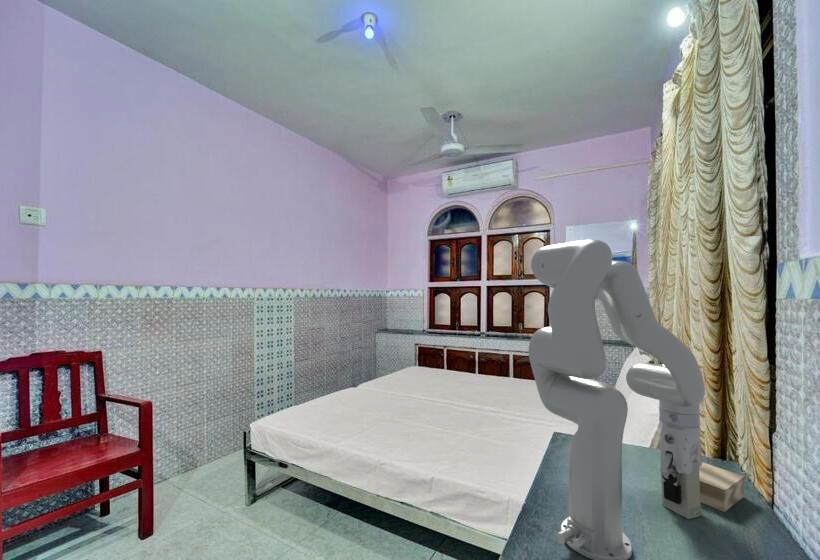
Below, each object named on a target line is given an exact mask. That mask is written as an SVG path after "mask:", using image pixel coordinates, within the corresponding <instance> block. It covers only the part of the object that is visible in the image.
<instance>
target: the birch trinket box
mask: <svg viewBox="0 0 820 560" xmlns="http://www.w3.org/2000/svg"><path fill="white" fill-rule="evenodd" d="M699 479H700V499H701V504H705V505H707V506H709V507H712V508H714V509H716V510H719V511H721V512H724V513H725V512H727V511H728V510H730V508H731V507H733V506H734V505H736V503H738V502H739V501H741V500H742V499H743V498H745V496H744V495H745V493H744V492H745V491H744V490H745V489H744V481H745V480H746V477H745V475H741V474H740V473H739V474H738V473H736V472H733V471H730V470H727V469H725V468H721V467H719V466H714V465H711V464H709V463H706V462H703V461H702V466H701V467H700V468H699Z"/></svg>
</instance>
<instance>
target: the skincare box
mask: <svg viewBox="0 0 820 560" xmlns="http://www.w3.org/2000/svg"><path fill="white" fill-rule="evenodd" d="M660 464H661V462H660ZM671 468H672V469H674V470H676V467H673V466H671ZM670 474H672V475H673V477H674V478H675V474H676V473H674V472H671V471H670ZM660 481H661V482H660V483H661V485H660V486H661V505H662V506H663V507H666V508H667V509H668V510H670V511H673V512H674V513H676V514H678V515H680V516H681V517H683V518H685V519H687V520H690V519H694V518H698V517H701V516H702V505H701V504H702V503H701V499H700V479H699V461H698V460H696V461H695V462H693V468H692V472H691V473H689V474H687V475H682V474H681V476H680V481H679V485H680V486H681V504H676V503H674V502H672V501H669V500H667V499H665V498H664V481H663V477H662V473H661V472H660Z"/></svg>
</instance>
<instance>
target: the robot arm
mask: <svg viewBox="0 0 820 560" xmlns="http://www.w3.org/2000/svg"><path fill="white" fill-rule="evenodd" d="M530 268H531V272H532V274H533V275H534V277H535V278H536V280H538V281H539V282H540V283H541V284H543V285H545V286H547V287H550V288H552V289H553V291H552V293H551V295H550V297H549V301H548V304H547V314H548V319H549V323H550V326H545V327H541V328H539V329H537V330H536V331H535V332H534V333H533V334H532V336H531V338H530V340H529V343H528V358H529V363H530V367H531V370H532V371H531V372H532V375H533V377H534V381H535V385H536V388H537V392H538V395H539V399H540V401H541V402H542V404H543V406H544V407H545V409H546V410H548V412H550V413H552V414H553V415H556V416H557V417H561V418H562V419H566V420H568V421H570V422H572V423H574V424H576V425H577V427H578V428H577V430H576V432H575V433H574V434H573V435H572V437H571V439H570V441H569V445H568V517H567V518H565V519H564V520H563V521H562V522H561V524H560V531H557V532H556V534H555V539H556V541H557V542H558V543H559V544H560V545H564V544H567V545H568V546H569V548H570V549H572V550H573V551H575V552H576V553H578V554H579V555H581V556H583V557H586V558H587V559H590V560H629V559H630V558H631V557H632V554H633V545H632V541H631V540H630V539H629V537H628V536H627V534H625V533H624V532H623V466H622V464H623V462H622V461H623V459H622V458H623V456H622V455H623V438H624V432H625V427H626V426H625V425H626V423H627V418H628V410H629V409H628V408H629V407H628V401H627V399H626V397H625V396H624V394H623V393H622V392H621V391H620V390H619V389H617V388H616V387H614V386H613V385H611V384H608V383H607V382H604V381H600V380H596V379H597V378H598V377H601V376H602V375H603V374H604V373H605V371H606V367H607V357H606V356H607V355H606V353H605V346H604V343H603V339H602V334H601V332H600V327H599V324H598V319H597V313H596V309H595V307H596V306H595V305H596V300H598V301H600V302H601V305H602V306H603V308H604V311H605V313H606V316H607V318H608V320H609V323H610V326H611V327H612V330H613V333H614V334H615V335H616V336H617V338H619V339H620V340H622V341H624V342H626V343H627V344H629V345H631V346H633V347H635V348H637V349H639V350H641V351H642V352H644V353H647V354H648V355H650V356H652V357H654V358H655V359H656V360H657V361H659V362H660V363H648V362H639V363H637V364H636V363H635V364H634V365H632V366H630V367H629V369H628V371H627V373H626V377H625V380H626V384H627V385H628V387H629V390H631V391H633V392H634V393H636V394H638V395H640V396H642V397H647V398H650V399H654V400H657V401H659V403H658V404H659V405H658V406H659V409H658V410H659V411H658V412H659V413H658V414H659V422H660V424H661V427H660V428H661V430H660V440H659V442H660V443H659V461H660V462H661V463H660V468H659V471H660V474H661V473H662V477H663V481H664V498H665V499H667V500H669V501H672V502H674V503H676V504H681V486H680V485H679V481H680V476H681V474H682V475H687V474H689V473H691V472H692V468H693V462H695V461H696V460H698V461H699V468H700V467H701V466H702V462H703V453H702V451H703V450H702V442H701V441H702V438H701V432H700V429H701V422H700V421H701V420H700V419H701V418H700V417H701V413H700V411H701V410H700V404H701V403H702V401H703V400H704V398H705V394H706V388H705V387H706V386H705V382H704V378H703V374H702V371H701V368H700V365H699V363H698V361H697V359H696V356H695V355H694V353H693V351H692V350H691V349H690V348H689V347H688V346H687V345H686V344H685V343H684V342H683V341H682V340H681V339H679V338H678V337H677V336H676V335H675V334H674V333H673V332H671V331H670V330H668V329H667V328H666V327H664V326H663V325H662V324H660V323H659V321H658V320H657V318H656V315H655V313H654V312H655V311H654V309H653V308H652V304H651V303H650V300H649V297H648V295H647V291H646V289H645V286H644V284H643V281H642V278H641V276H640V274H639V272H638V269H637V268H636V267H635V266H634V265H633V264H632V263H630V262H628V261H625V260H613V253H612V250H611V247H610V246H609V245H608V244H607V243H606V242H605V241H602V240H598V239H582V240H574V241H568V242H564V243H556V244H549V245H546V246H543V247H540V248H539V249H538V250H536V251H535V252H534V253H533V255H532V257H531V262H530ZM671 466H673V467H676V470H674V469H672V468H671ZM670 471H671V472H674V473H676V474H675V478H674V477H673V475H672V474H670Z"/></svg>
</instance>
